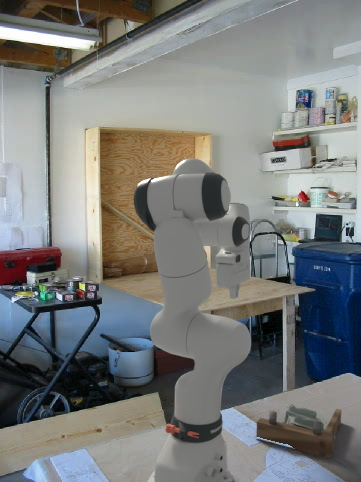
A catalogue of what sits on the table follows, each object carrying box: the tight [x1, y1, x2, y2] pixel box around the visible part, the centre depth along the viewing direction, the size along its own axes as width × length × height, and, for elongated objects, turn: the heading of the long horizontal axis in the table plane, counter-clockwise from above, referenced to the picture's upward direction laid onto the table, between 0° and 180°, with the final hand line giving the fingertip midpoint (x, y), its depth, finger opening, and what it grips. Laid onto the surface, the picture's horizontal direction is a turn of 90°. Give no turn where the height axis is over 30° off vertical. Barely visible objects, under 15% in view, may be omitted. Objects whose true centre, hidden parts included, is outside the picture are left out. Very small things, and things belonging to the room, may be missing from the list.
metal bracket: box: [281, 403, 337, 440], centre depth 146 cm, size 14×6×15 cm
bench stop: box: [255, 408, 342, 459], centre depth 142 cm, size 22×20×8 cm
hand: (234, 297), depth 159 cm, fingers closed
